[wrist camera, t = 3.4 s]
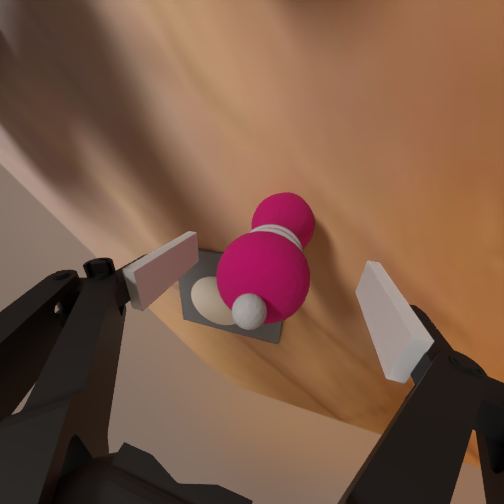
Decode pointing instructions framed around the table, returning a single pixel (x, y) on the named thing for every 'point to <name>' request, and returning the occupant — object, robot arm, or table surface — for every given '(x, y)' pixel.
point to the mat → (214, 300)
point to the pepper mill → (268, 263)
